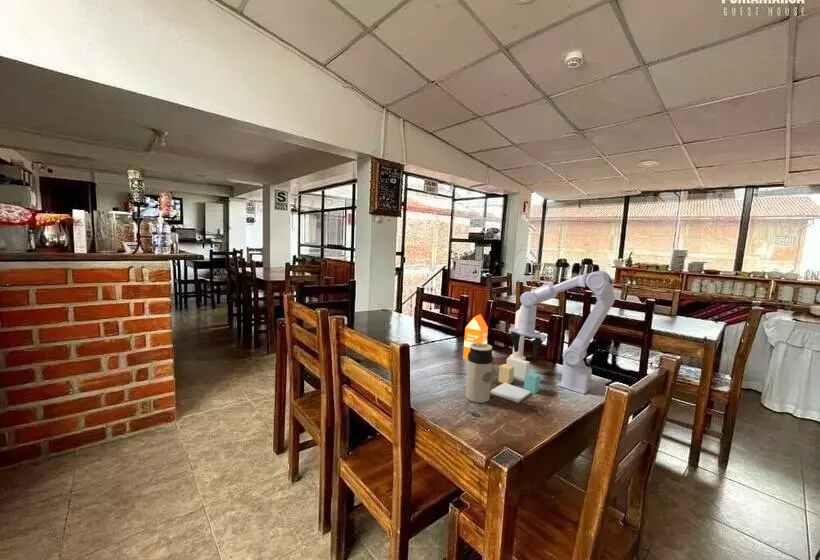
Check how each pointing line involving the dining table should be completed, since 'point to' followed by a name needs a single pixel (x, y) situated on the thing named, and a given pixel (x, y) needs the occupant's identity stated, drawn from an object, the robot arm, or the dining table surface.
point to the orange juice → (475, 333)
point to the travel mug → (479, 372)
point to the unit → (518, 367)
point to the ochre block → (506, 373)
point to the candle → (521, 342)
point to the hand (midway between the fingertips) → (525, 353)
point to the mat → (511, 392)
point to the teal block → (532, 382)
